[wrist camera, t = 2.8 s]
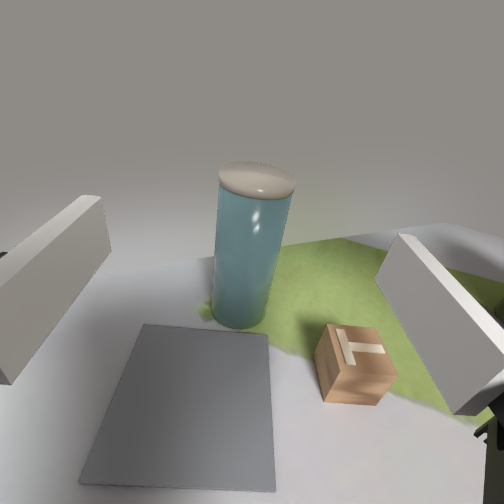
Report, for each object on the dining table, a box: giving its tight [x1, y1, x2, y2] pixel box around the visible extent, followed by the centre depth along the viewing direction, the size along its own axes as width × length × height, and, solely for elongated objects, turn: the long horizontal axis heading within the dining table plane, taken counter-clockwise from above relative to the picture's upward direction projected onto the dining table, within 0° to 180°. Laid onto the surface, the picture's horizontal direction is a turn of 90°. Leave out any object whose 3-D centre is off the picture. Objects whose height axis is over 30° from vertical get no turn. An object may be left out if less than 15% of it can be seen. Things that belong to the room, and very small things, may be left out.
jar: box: [211, 162, 296, 329], centre depth 35 cm, size 8×8×20 cm
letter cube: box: [314, 324, 398, 406], centre depth 31 cm, size 6×6×6 cm
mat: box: [78, 324, 276, 492], centre depth 29 cm, size 16×16×1 cm
